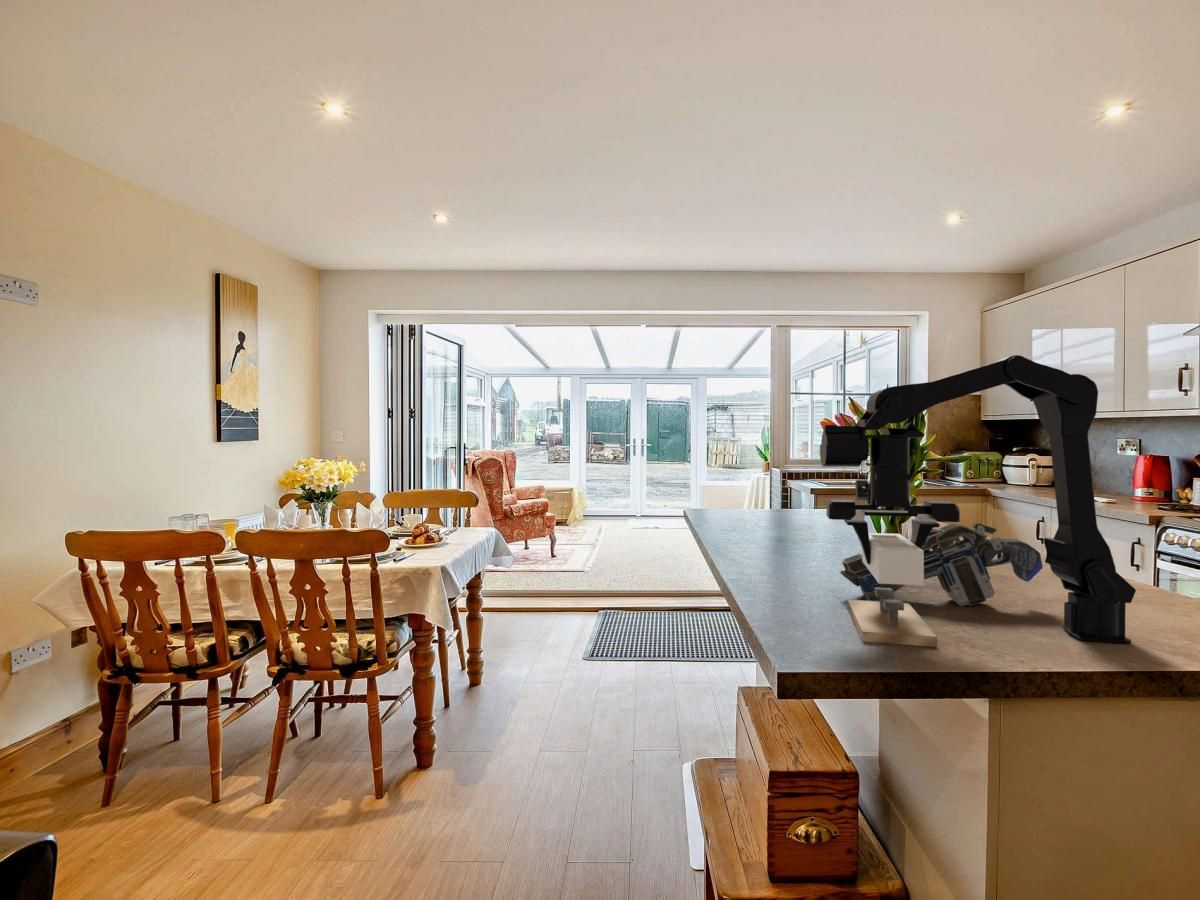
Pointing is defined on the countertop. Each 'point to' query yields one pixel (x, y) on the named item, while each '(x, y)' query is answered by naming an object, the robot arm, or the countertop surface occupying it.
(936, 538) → the firearm
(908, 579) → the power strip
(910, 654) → the countertop surface
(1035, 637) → the countertop surface
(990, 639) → the countertop surface
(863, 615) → the mounting board
